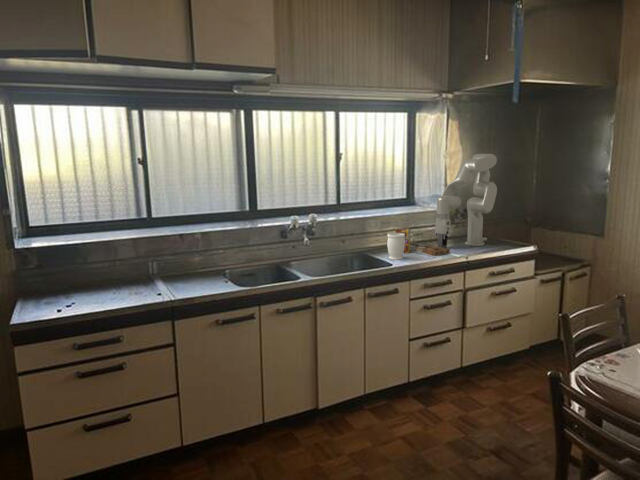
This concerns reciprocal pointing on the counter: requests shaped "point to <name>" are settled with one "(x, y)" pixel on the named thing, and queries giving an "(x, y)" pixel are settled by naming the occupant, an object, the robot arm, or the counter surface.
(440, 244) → the grey rectangular block
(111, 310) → the counter surface
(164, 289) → the counter surface
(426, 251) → the socket block
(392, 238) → the jar
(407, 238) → the candy box
